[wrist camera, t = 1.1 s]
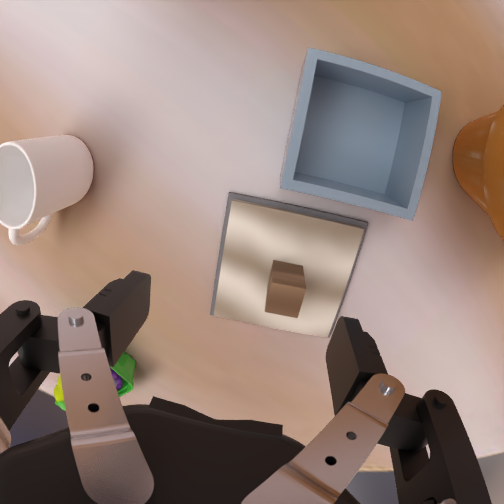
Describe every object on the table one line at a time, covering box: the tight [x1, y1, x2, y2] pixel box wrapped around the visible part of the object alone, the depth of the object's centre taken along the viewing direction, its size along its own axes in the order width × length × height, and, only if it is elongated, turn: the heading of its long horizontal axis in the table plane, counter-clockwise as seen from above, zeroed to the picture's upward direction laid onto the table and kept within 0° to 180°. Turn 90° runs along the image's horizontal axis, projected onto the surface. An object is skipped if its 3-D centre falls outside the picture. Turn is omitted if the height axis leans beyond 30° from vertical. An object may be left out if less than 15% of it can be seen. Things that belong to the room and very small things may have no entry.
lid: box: [214, 199, 364, 338], centre depth 29 cm, size 13×13×6 cm
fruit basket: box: [54, 351, 136, 411], centre depth 34 cm, size 11×9×11 cm
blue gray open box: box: [280, 47, 442, 221], centre depth 24 cm, size 11×11×7 cm
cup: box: [0, 135, 94, 245], centre depth 27 cm, size 8×12×10 cm
